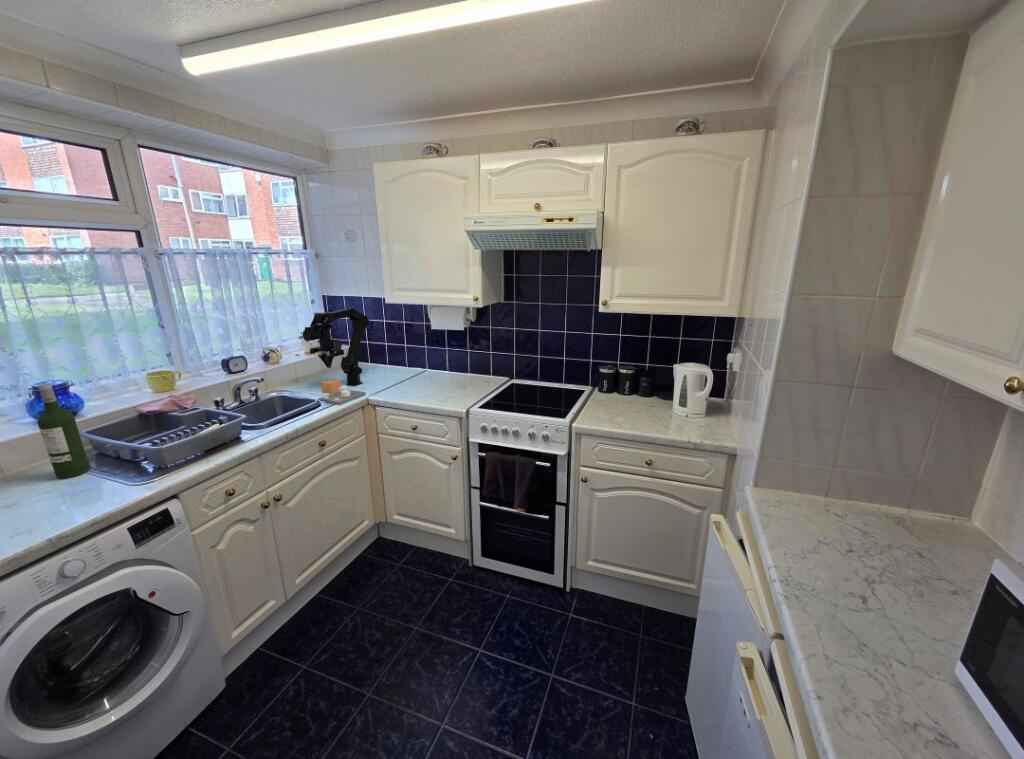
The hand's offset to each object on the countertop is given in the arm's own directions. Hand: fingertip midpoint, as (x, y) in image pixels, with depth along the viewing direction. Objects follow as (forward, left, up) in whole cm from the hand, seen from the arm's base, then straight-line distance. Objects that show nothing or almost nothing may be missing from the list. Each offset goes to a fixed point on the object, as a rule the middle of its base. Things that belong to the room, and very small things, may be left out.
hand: (329, 367), depth 213 cm
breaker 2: (+8, +17, -11) cm, 22 cm away
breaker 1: (+2, +11, -11) cm, 15 cm away
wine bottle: (+98, -9, -13) cm, 99 cm away
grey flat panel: (+6, +14, -13) cm, 20 cm away
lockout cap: (0, 0, -13) cm, 13 cm away
